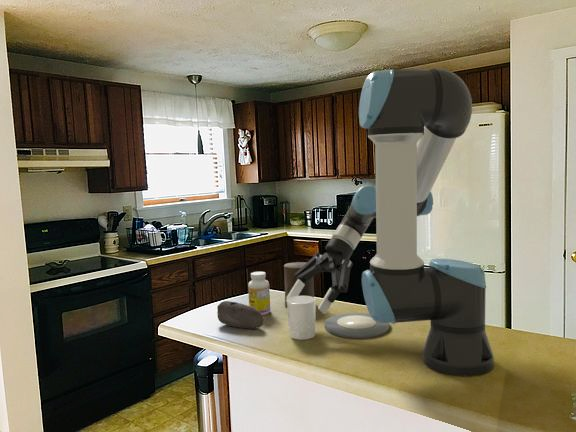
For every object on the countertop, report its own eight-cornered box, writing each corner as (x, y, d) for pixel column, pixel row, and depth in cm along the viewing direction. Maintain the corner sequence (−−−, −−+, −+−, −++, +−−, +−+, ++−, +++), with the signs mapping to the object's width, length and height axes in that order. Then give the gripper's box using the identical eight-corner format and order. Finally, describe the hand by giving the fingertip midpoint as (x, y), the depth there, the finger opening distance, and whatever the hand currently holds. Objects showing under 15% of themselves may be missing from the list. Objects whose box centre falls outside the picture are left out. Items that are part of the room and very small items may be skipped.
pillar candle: (305, 311, 151) (304, 264, 149) (279, 307, 156) (278, 262, 154) (319, 303, 159) (318, 259, 157) (294, 300, 164) (293, 257, 163)
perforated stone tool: (268, 328, 137) (267, 304, 136) (258, 333, 132) (256, 309, 132) (227, 320, 145) (226, 298, 144) (216, 326, 140) (214, 303, 139)
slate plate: (392, 338, 125) (392, 332, 124) (323, 338, 127) (323, 332, 126) (386, 316, 142) (386, 311, 142) (326, 316, 144) (325, 311, 144)
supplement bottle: (247, 311, 153) (245, 272, 152) (267, 308, 155) (265, 270, 154) (252, 317, 147) (250, 276, 145) (272, 314, 149) (271, 274, 147)
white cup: (282, 338, 128) (281, 302, 127) (296, 329, 135) (294, 294, 134) (309, 342, 124) (308, 305, 123) (321, 332, 131) (320, 297, 130)
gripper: (381, 257, 130) (344, 323, 123) (321, 247, 150) (285, 303, 143) (367, 240, 127) (328, 308, 119) (307, 232, 146) (270, 289, 139)
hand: (304, 305), depth 131 cm, fingers open, 13 cm apart
